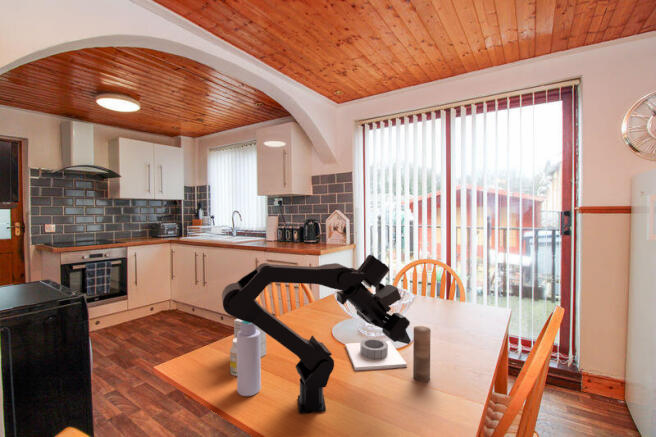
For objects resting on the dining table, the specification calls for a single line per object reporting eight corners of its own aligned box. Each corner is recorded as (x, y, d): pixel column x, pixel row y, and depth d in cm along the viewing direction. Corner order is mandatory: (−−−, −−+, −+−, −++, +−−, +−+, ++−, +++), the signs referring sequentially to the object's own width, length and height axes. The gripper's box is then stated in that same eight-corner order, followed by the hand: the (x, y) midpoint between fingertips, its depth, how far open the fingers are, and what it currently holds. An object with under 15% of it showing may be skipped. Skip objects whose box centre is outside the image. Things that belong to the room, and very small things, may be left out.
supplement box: (250, 349, 105) (250, 312, 104) (266, 354, 101) (266, 316, 100) (233, 358, 99) (233, 319, 98) (250, 364, 95) (249, 324, 94)
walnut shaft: (433, 381, 85) (433, 331, 85) (417, 382, 85) (417, 332, 84) (425, 372, 90) (426, 325, 89) (410, 373, 89) (411, 326, 89)
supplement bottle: (228, 376, 88) (227, 343, 87) (232, 367, 93) (232, 336, 93) (247, 375, 88) (247, 343, 88) (250, 366, 93) (250, 335, 93)
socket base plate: (406, 367, 93) (406, 354, 93) (355, 370, 91) (355, 357, 91) (389, 343, 109) (389, 332, 109) (345, 346, 107) (345, 335, 107)
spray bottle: (261, 382, 85) (260, 304, 84) (259, 396, 79) (259, 311, 78) (239, 384, 84) (238, 305, 83) (235, 398, 78) (234, 312, 77)
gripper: (403, 284, 73) (439, 324, 77) (365, 270, 90) (397, 302, 94) (374, 322, 70) (413, 360, 74) (341, 299, 88) (375, 331, 92)
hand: (399, 335), depth 84 cm, fingers open, 9 cm apart
